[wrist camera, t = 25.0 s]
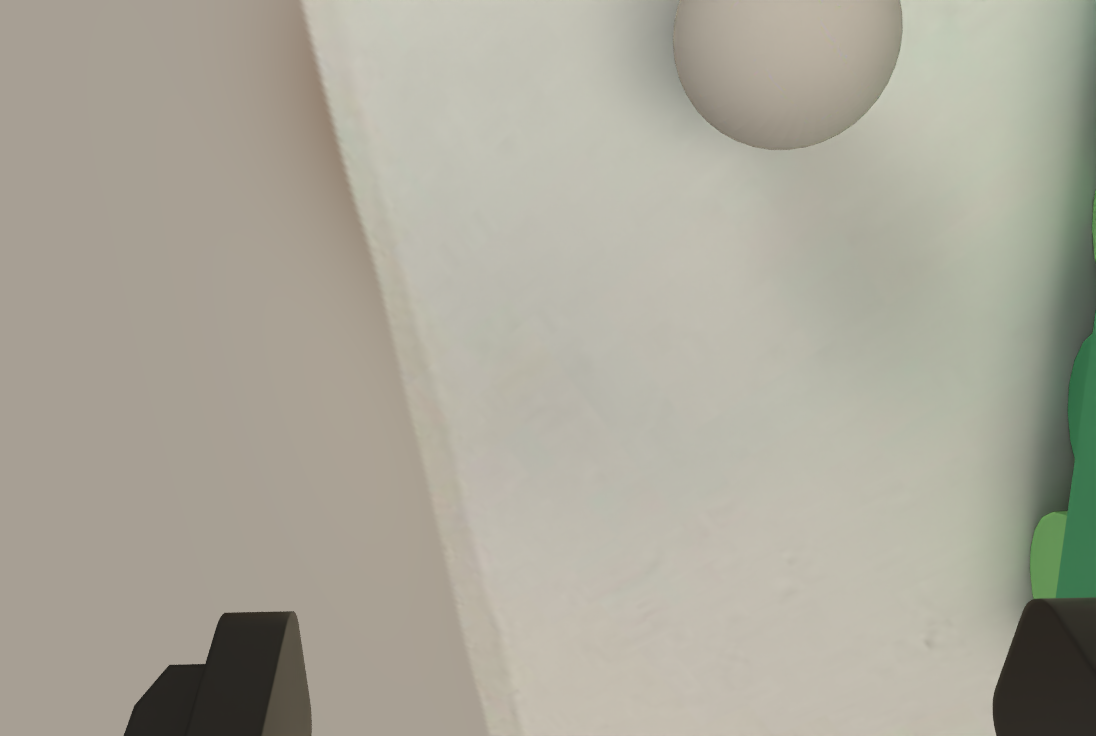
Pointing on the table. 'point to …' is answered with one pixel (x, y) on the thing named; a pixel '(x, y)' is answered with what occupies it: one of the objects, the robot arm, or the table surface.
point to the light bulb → (785, 65)
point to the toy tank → (1073, 493)
